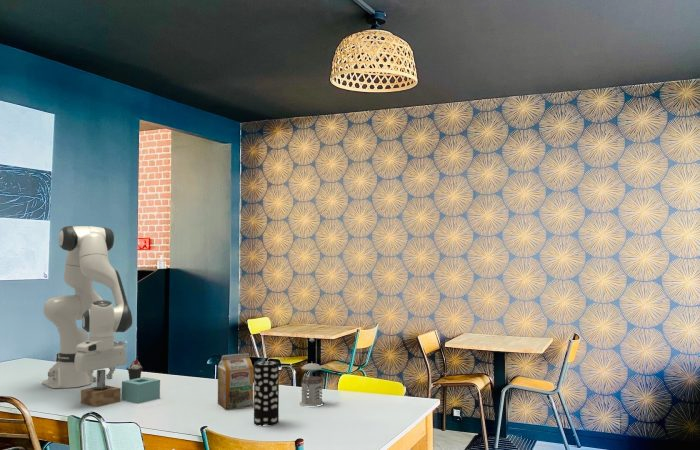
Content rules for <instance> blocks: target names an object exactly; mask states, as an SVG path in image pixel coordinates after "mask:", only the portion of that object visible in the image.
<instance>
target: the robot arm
mask: <svg viewBox="0 0 700 450" xmlns="http://www.w3.org/2000/svg"><path fill="white" fill-rule="evenodd" d="M57 237H58V238H57V239H58V244H59V247H60V248H61V249H62V250H64V251H67V252H66V258H65V264H64V275H63V276H64V277H63V280H64V283H65V284H66V285H68V287H70V288H73V290H74V295H70V294H69V295H58V296H55V297H51V298H48V299H47V300H46V302H45V303H44V305H43V313H44V316H45V318H46V319H47V320H48V321H49V322H51V323H52V324H53V325H54V327H56V329H57V332H58V334H59V346H60V347H59V348H60V349H59V353H58V354H57V362H55V364H54V365H52V367H50V368H49V370H48V372H47V379H45V380H42V381H41V382H42V383H41V384H42V385H45V386H47V387H48V388H50V389H63V388H65V389H67V388H78V387H85V386H88V385H91V384H92V383H97V376H96V377H95V376H94V375H93V374H94V371H97V370H105V369H108V370H109V372H108V373H107V374H106V373H105V380H113V374H114V372H115V371H116V367H120V366H121V367H122V366H125V365H126V364H127V363H128V362H127V361H128V360H127V359H128V357H127V352H126V351H127V350H126V348H127V345H126V343H125V342H123V341H115V333H125V332H127V331H128V330H129V329H130V328H131V327H132V326H133V315H132V311H131V309H130V306H129V304H128V303H129V302H128V300H127V296H126V292H125V289H124V285H123V281H122V279H121V276H120V273H119V271H118V270H117V269H114V267H113V266H112V264H111V263H110V260H109V259H110V258H109V251H110V250H111V249H112V248H113V247H114V245H115V234H114V231H113V230H112V229H111V228H108V227H99V226H91V225H87V226H86V225H85V226H83V225H79V226H78V225H77V226H75V225H74V226H72V225H68V226H66V225H65V226H64V227H62V228H61V229H60V231H59V234H58V236H57ZM93 282H95V283H99V284H101V285H104V286H106V287H108V288H109V289H110V291H111V292H112V296H113V300H114V304H115V306H114V304H113V302H112V301H110V300H104V299H103V297H102V296H101V295H99V294H98V293H97V292H96V291H95V289H94V285H93ZM79 320H82V326H81V328H80V327H78V325H77V321H79ZM88 333H89V335H88Z"/></svg>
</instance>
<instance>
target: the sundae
mask: <svg viewBox="0 0 700 450" xmlns="http://www.w3.org/2000/svg"><path fill="white" fill-rule="evenodd" d="M138 357H139V356H136V358H135V360H133V361H132V362H131V364H130V365H129V367H127V368H126V369H125V370H126V371H127V372H128V380H132V379H137V378H142V377H141V375H142V371H143V369H144V367H143V366H142V365H141V363H140V362H139V360H138Z"/></svg>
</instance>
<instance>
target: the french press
mask: <svg viewBox="0 0 700 450" xmlns="http://www.w3.org/2000/svg"><path fill="white" fill-rule="evenodd" d="M308 341H309V342H315V338H314V337H310V338H309V340H308ZM300 368H301V370H303V371H309V372H310V371H311V372H313V371H320V370H322V369H323V366H321V364H318V363H315V362H314V363H313V362H311V363H306V364H304V365H302V366H301V367H300ZM311 372H310V373H309V374H308V375H307V373H306V372H305V373H304V375H303V377H302V381H301V401H300V402H299V404H300V405H302V406H301V407H304V406H317V405H321V404H323V403H325V402H324V401H323V395H322V394H323V392H322V391H323V381H322V380H321V379H322V377H321V376H313V375H311ZM299 404H298V405H299ZM300 405H299V406H300Z"/></svg>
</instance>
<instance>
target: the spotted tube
mask: <svg viewBox="0 0 700 450" xmlns="http://www.w3.org/2000/svg"><path fill="white" fill-rule="evenodd" d="M279 373H280V363H279V362H278V361H275V360H262V361H261V360H260V361H256V362H254V363H253V424H254V425H255V424H256V425H255V426H258V425H261V426H260V427H264V426H263V425H271V426H275V425H278V424H279V419H280V418H279V416H280V415H279V414H280V413H279V409H280V408H279V406H280V404H279V403H280V402H279V401H280V400H279V399H280V397H279V395H280V393H279V392H280V389H279V388H280V387H279V386H280V385H279V384H280V382H279V381H280V380H279V379H280V378H279V377H280V376H279V375H280V374H279ZM277 423H278V424H277ZM274 424H275V425H274Z"/></svg>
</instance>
